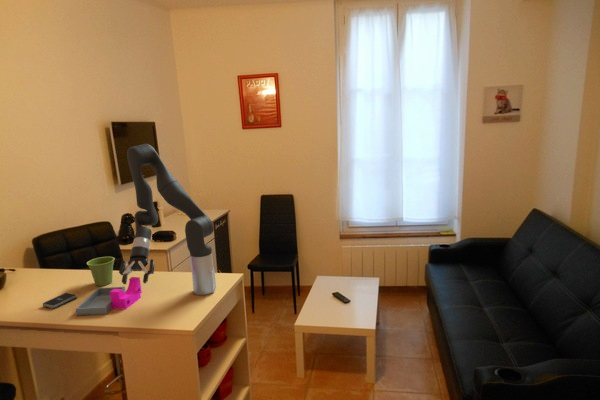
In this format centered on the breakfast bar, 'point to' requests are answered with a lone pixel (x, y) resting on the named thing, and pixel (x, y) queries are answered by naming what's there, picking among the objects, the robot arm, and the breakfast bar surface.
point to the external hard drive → (59, 300)
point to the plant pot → (102, 270)
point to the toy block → (126, 294)
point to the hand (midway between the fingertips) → (134, 283)
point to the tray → (97, 302)
